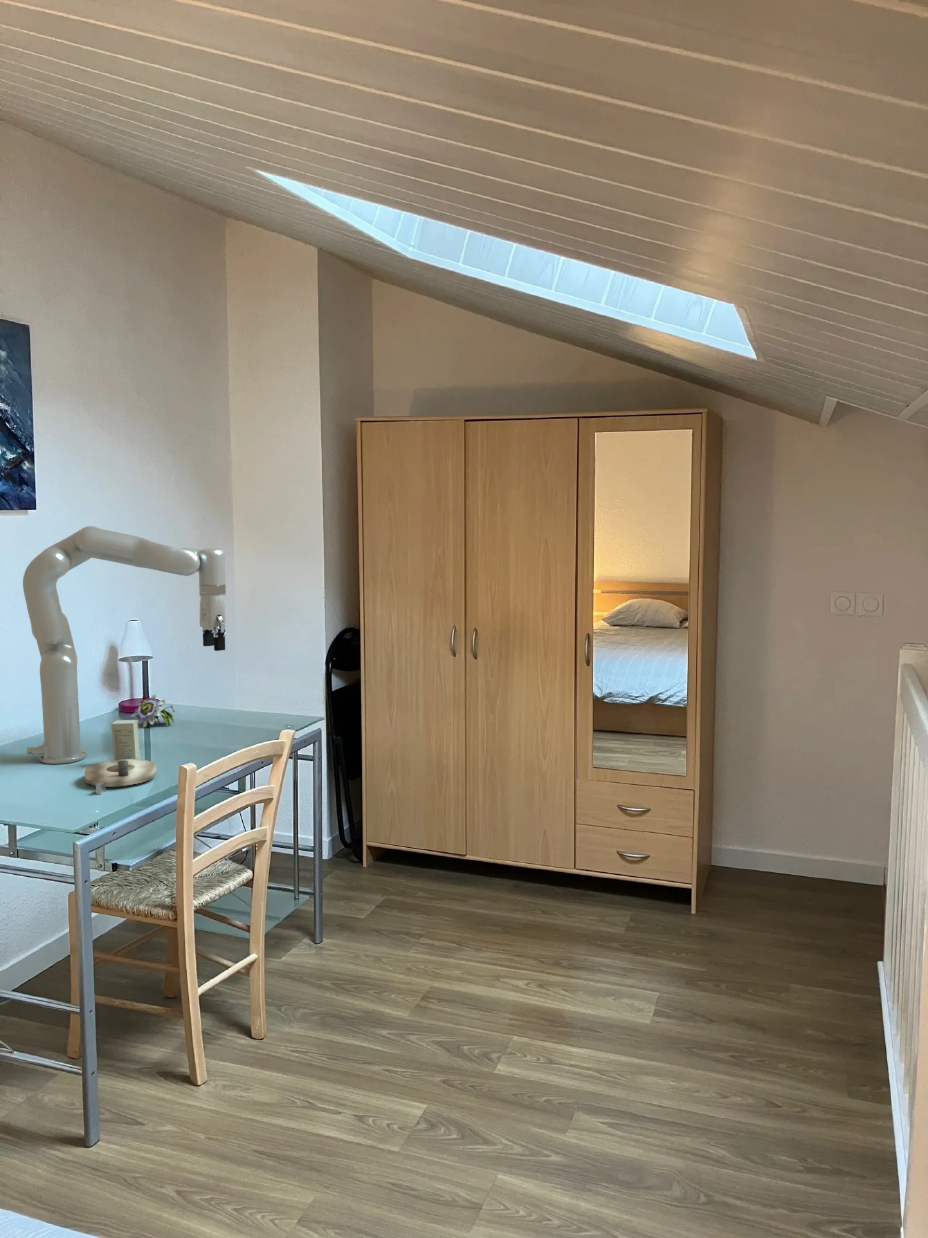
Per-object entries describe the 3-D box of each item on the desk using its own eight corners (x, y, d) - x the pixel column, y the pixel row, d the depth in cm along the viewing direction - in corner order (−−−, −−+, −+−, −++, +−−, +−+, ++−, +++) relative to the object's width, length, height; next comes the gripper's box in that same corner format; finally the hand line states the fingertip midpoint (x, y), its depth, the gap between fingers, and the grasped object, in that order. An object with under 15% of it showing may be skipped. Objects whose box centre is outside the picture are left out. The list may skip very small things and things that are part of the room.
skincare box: (140, 761, 278) (139, 719, 276) (136, 766, 273) (134, 723, 272) (117, 761, 277) (116, 719, 276) (112, 766, 273) (111, 723, 272)
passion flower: (146, 743, 318) (122, 715, 317) (161, 729, 329) (138, 701, 327) (170, 726, 315) (146, 697, 313) (185, 713, 325) (162, 684, 323)
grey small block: (102, 790, 251) (102, 781, 251) (107, 790, 251) (106, 781, 251) (96, 794, 248) (95, 785, 248) (100, 794, 248) (100, 785, 247)
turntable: (87, 790, 249) (86, 767, 248) (82, 771, 265) (81, 750, 264) (160, 781, 256) (160, 760, 255) (151, 764, 272) (151, 743, 272)
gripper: (190, 588, 294) (192, 645, 297) (209, 594, 280) (211, 653, 282) (215, 587, 298) (216, 643, 301) (235, 592, 284) (236, 651, 286)
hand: (214, 648), depth 291 cm, fingers open, 9 cm apart
